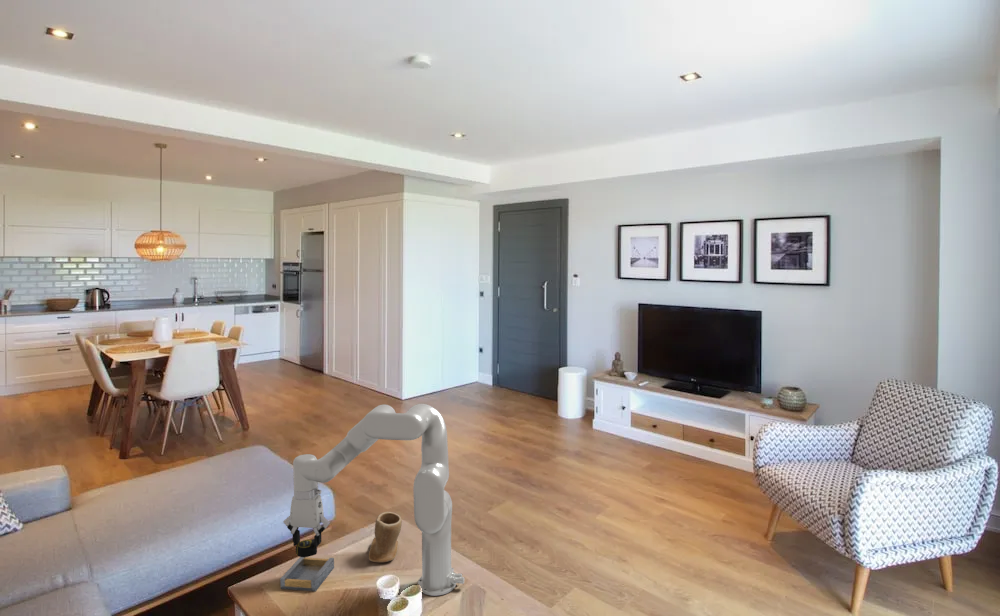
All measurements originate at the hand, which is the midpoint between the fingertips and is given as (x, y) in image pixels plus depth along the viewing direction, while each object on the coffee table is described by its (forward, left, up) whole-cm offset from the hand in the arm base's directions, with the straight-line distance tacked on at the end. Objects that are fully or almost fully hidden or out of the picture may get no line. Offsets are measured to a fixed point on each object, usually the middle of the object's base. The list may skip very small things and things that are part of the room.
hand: (307, 544), depth 181 cm
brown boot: (-21, -18, -12) cm, 30 cm away
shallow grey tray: (0, 0, -12) cm, 12 cm away
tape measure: (0, 0, -4) cm, 4 cm away
